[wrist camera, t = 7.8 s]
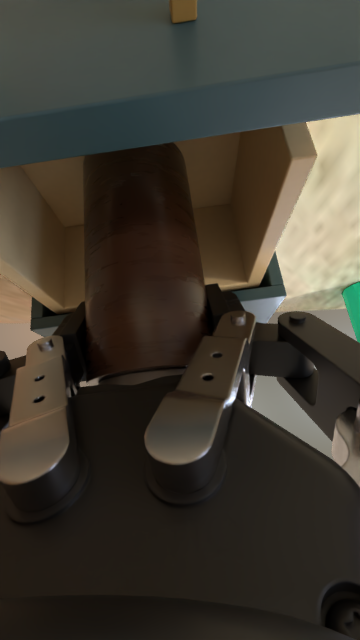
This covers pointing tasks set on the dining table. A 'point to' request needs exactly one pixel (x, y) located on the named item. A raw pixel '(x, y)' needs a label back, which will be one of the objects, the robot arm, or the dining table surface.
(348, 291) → the candle
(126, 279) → the pepper mill
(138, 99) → the drawer
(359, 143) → the dining table surface
